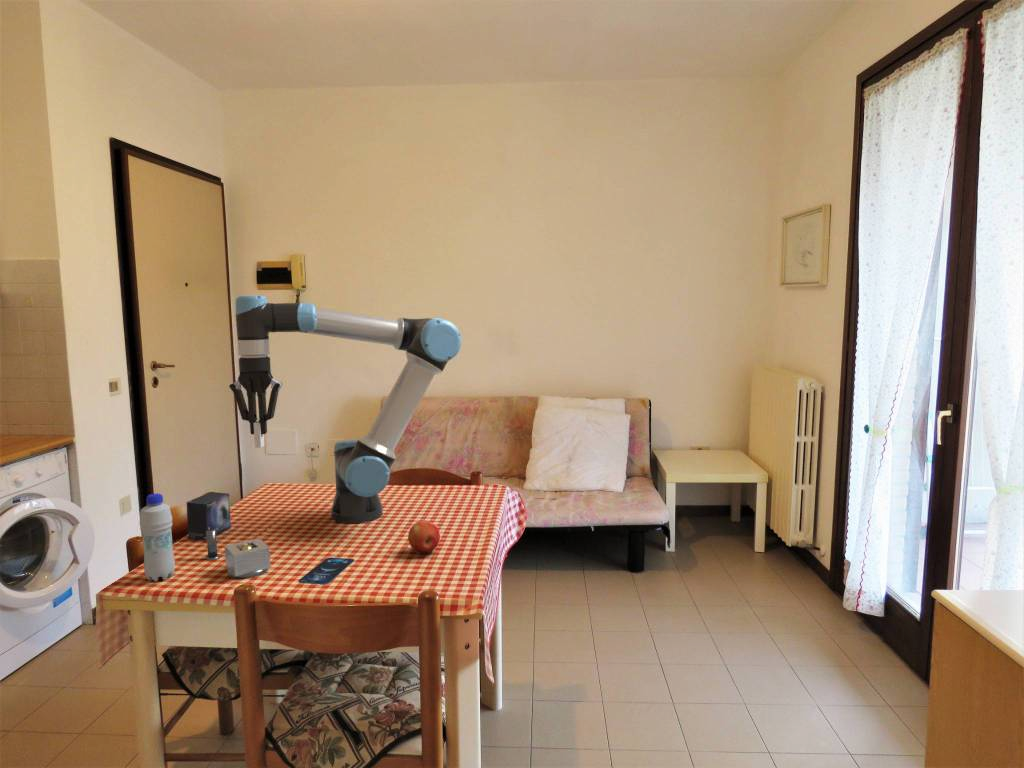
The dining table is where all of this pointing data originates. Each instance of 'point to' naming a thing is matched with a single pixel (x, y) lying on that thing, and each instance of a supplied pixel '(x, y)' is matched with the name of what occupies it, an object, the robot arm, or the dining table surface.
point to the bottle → (157, 538)
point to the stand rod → (211, 545)
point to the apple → (423, 537)
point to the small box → (208, 515)
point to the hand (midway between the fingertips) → (259, 446)
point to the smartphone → (326, 571)
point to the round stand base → (247, 573)
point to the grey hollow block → (247, 557)
